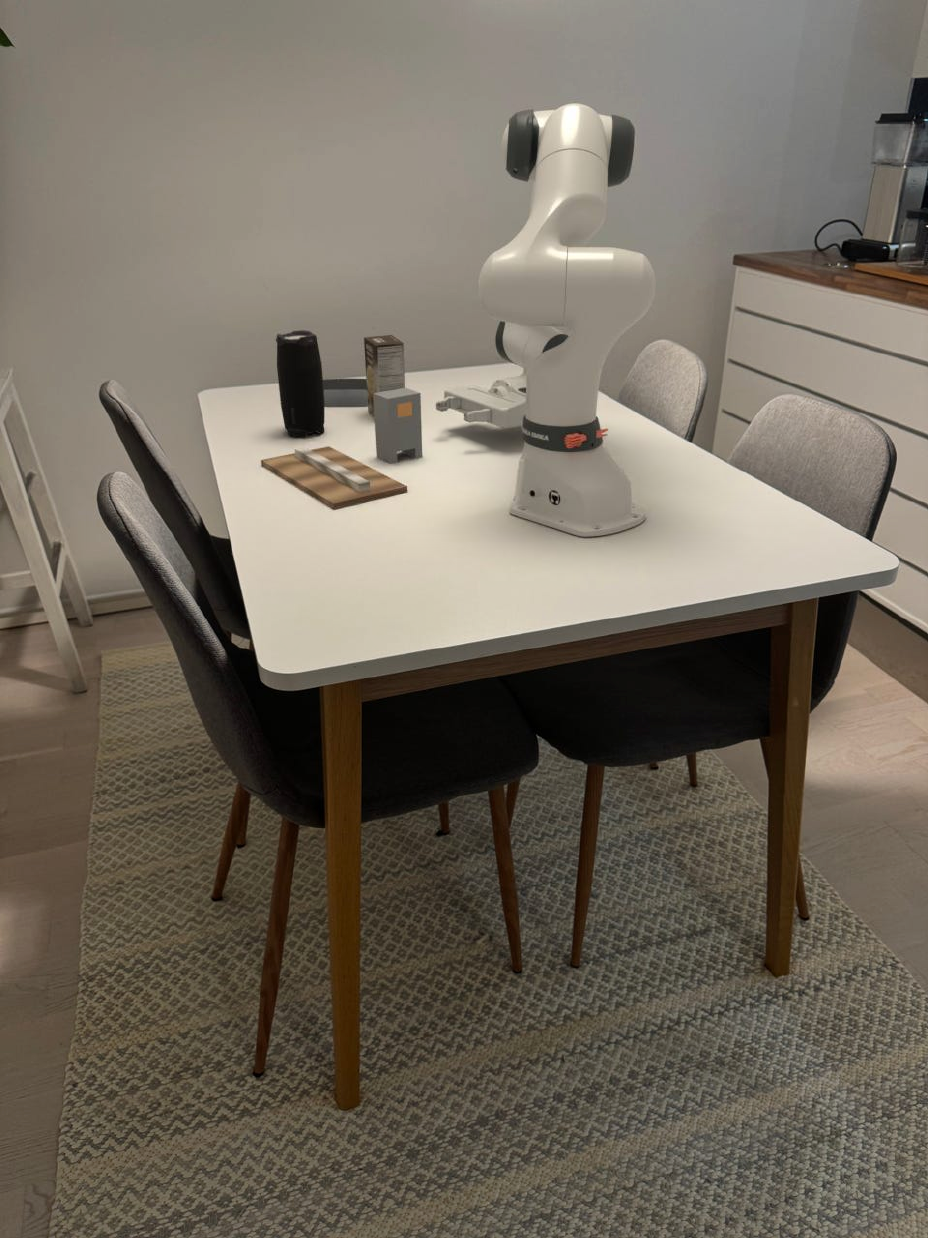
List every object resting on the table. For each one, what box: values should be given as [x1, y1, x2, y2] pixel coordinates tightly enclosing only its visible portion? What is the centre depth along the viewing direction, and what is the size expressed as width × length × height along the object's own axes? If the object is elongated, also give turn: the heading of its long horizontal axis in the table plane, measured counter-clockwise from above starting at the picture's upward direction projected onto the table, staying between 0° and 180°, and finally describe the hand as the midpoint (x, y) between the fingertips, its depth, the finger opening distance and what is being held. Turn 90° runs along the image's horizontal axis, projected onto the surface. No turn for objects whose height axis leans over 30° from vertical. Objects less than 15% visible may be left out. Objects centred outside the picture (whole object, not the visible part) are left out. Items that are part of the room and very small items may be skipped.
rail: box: [260, 446, 408, 510], centre depth 162 cm, size 28×14×2 cm, turn 35°
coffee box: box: [363, 334, 406, 417], centre depth 194 cm, size 9×6×16 cm
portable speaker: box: [275, 329, 326, 439], centre depth 182 cm, size 9×9×20 cm
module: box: [373, 387, 423, 465], centre depth 170 cm, size 5×7×12 cm
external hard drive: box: [323, 378, 368, 408], centre depth 209 cm, size 13×19×4 cm
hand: (451, 412), depth 175 cm, fingers open, 8 cm apart
